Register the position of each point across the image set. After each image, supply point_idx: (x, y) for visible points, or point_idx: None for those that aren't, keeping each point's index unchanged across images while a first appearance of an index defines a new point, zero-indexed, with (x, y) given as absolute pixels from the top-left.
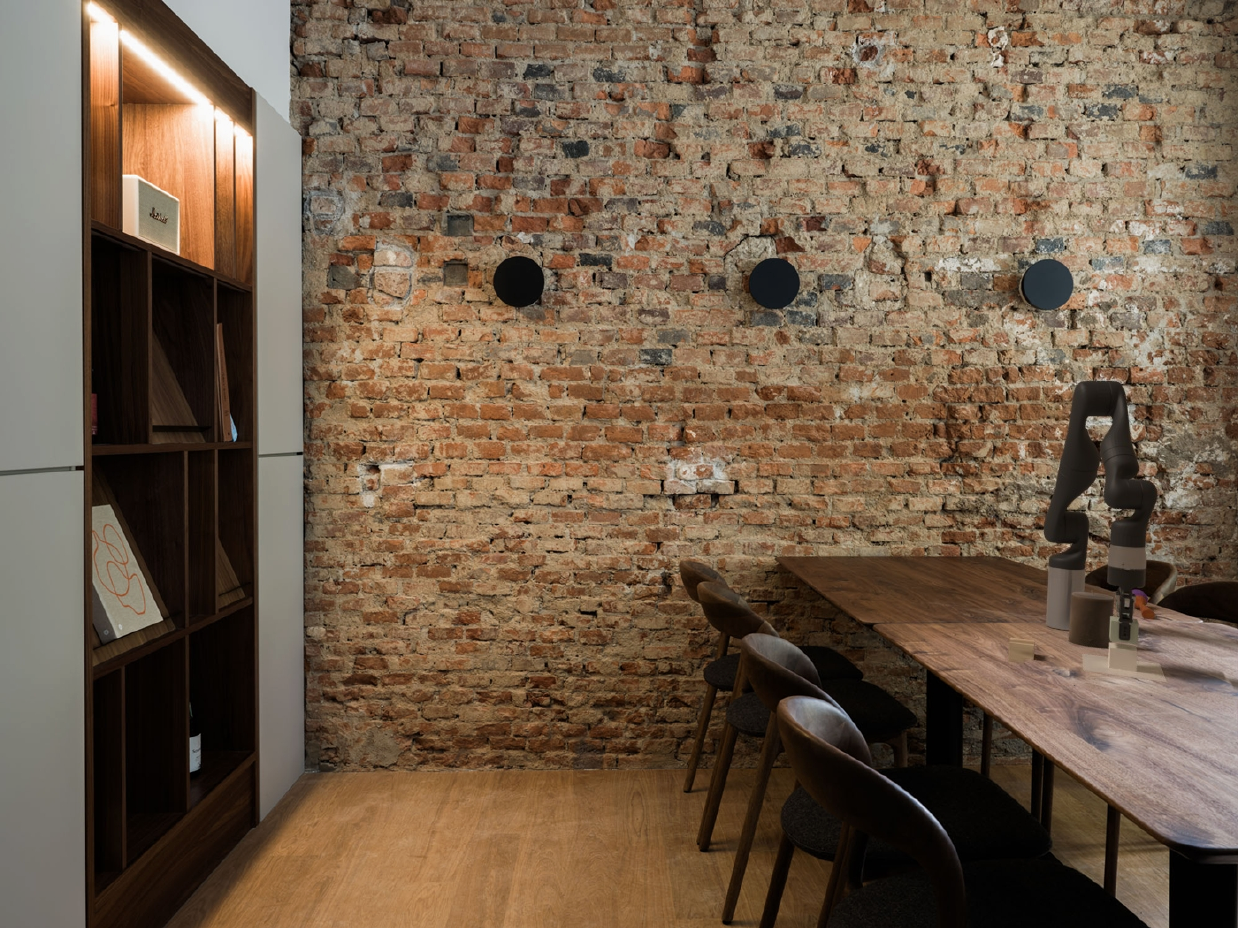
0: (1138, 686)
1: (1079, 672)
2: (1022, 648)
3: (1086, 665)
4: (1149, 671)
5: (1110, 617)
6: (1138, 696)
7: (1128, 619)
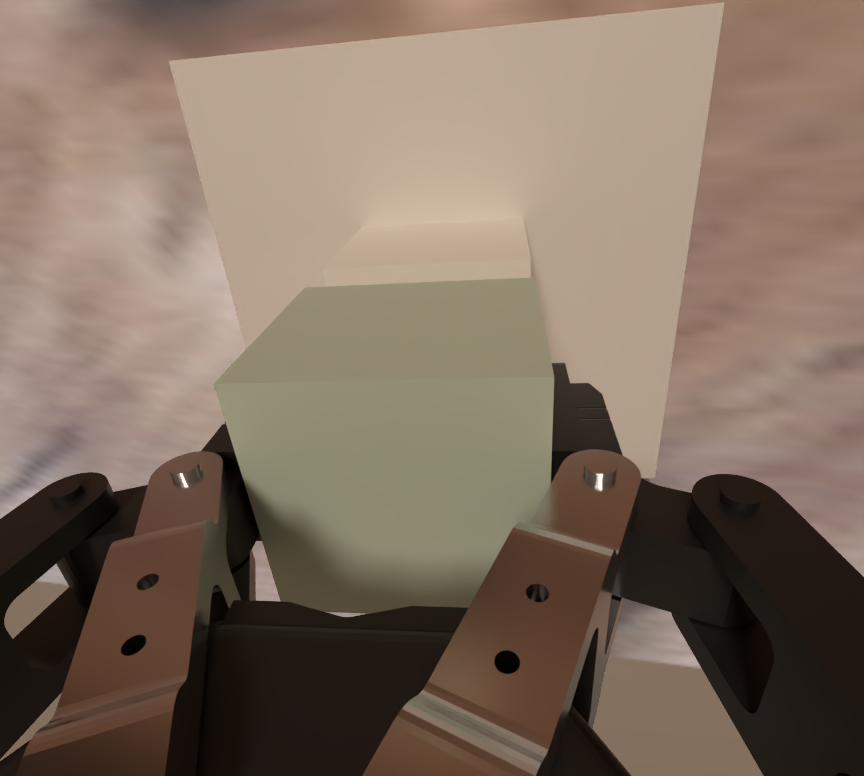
0: (207, 358)
1: (251, 30)
2: None
3: (326, 74)
4: None
5: (441, 378)
6: (33, 352)
7: (67, 581)
